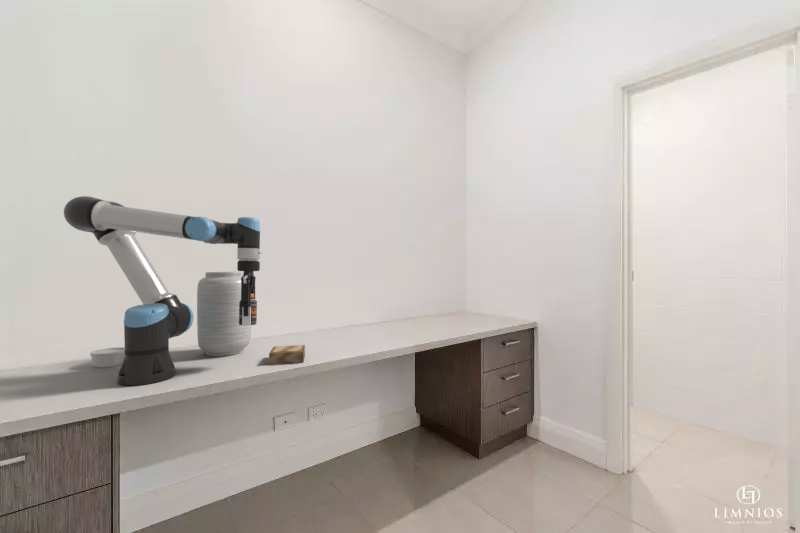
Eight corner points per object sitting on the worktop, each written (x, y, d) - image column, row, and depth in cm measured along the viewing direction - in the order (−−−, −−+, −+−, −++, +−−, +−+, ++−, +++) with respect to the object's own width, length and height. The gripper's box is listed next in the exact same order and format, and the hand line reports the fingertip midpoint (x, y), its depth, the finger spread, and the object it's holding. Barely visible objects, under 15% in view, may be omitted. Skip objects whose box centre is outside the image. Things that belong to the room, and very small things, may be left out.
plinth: (269, 364, 132) (269, 352, 132) (273, 356, 144) (273, 345, 144) (303, 362, 135) (303, 351, 135) (305, 354, 147) (304, 344, 147)
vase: (246, 345, 167) (245, 271, 167) (255, 353, 150) (255, 271, 150) (195, 351, 156) (194, 272, 156) (199, 361, 139) (198, 272, 139)
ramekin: (134, 359, 142) (133, 346, 142) (122, 367, 132) (121, 352, 132) (99, 362, 139) (99, 348, 139) (84, 370, 128) (84, 355, 128)
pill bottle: (250, 326, 129) (250, 294, 129) (235, 325, 131) (235, 294, 131) (259, 323, 135) (260, 293, 135) (245, 323, 136) (245, 292, 136)
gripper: (254, 259, 125) (254, 327, 124) (263, 260, 143) (263, 319, 143) (231, 259, 123) (230, 328, 123) (243, 260, 142) (242, 320, 142)
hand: (248, 323), depth 133 cm, fingers closed on pill bottle, 6 cm apart
